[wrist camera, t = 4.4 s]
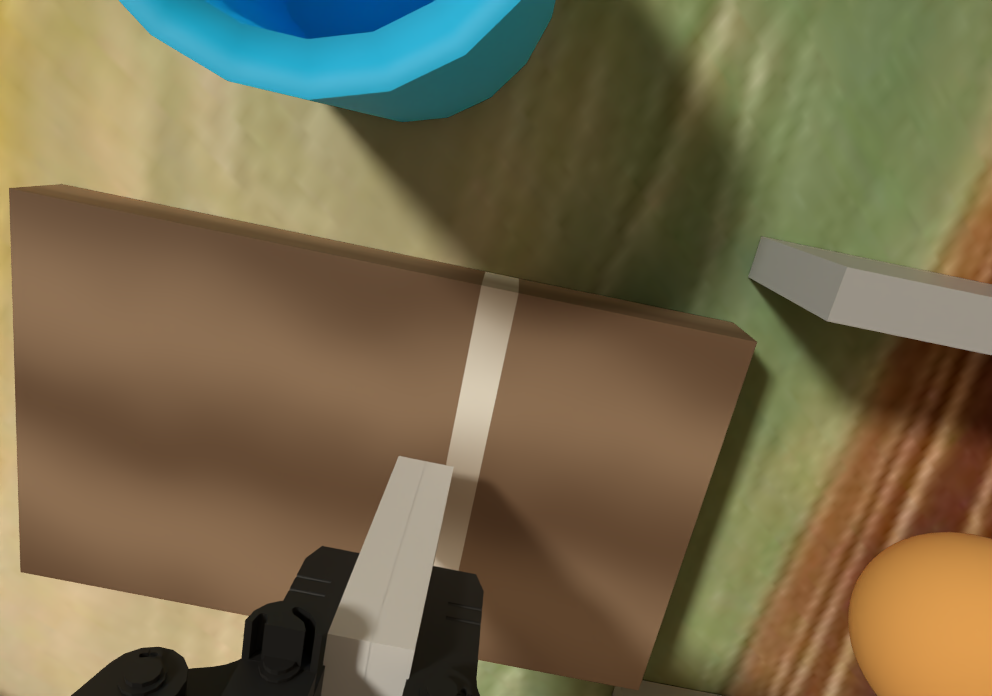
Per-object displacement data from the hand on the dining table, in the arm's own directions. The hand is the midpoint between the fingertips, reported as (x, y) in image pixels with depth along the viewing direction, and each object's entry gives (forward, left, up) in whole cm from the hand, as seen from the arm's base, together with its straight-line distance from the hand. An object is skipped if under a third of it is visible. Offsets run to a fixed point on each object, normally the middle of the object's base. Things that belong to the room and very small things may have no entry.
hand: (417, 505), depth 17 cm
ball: (+1, +16, 0) cm, 16 cm away
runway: (0, -2, -3) cm, 4 cm away
